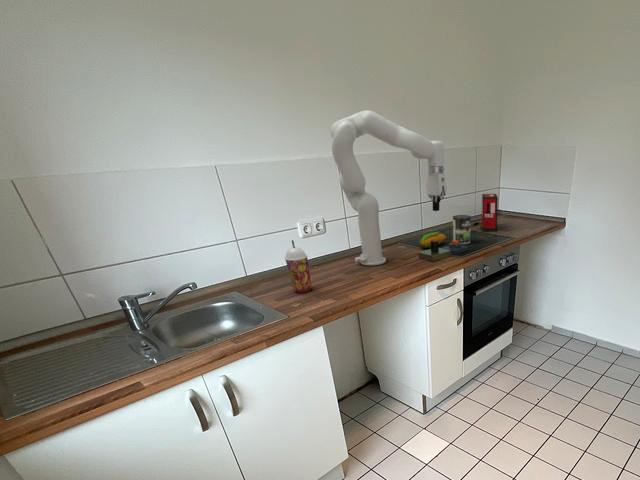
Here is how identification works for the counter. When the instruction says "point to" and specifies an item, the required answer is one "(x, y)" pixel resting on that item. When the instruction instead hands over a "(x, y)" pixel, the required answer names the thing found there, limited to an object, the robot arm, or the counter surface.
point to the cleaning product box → (489, 212)
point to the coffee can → (462, 228)
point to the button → (455, 242)
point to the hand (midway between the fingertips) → (436, 210)
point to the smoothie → (298, 269)
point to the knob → (434, 246)
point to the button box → (456, 248)
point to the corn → (431, 236)
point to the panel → (434, 254)
